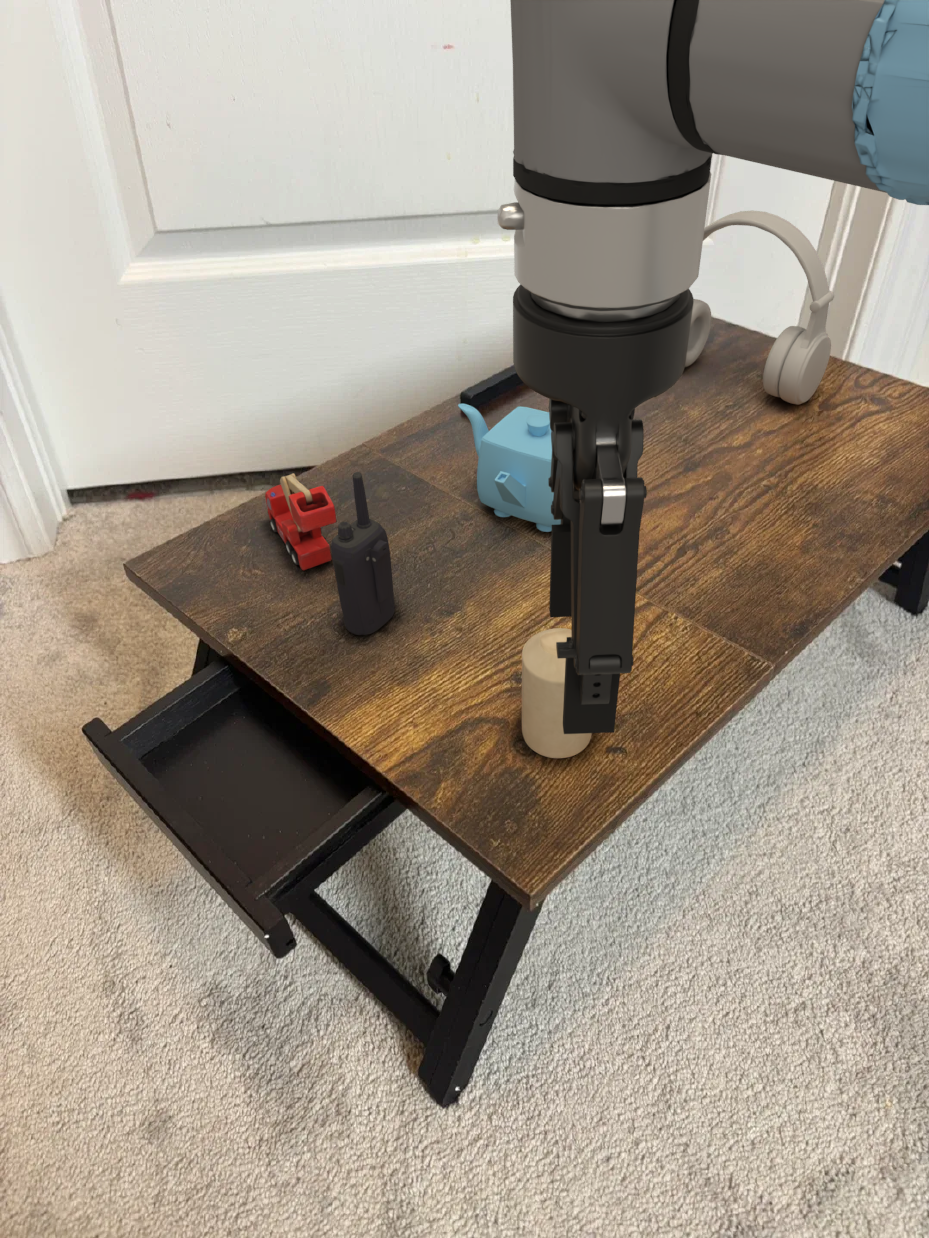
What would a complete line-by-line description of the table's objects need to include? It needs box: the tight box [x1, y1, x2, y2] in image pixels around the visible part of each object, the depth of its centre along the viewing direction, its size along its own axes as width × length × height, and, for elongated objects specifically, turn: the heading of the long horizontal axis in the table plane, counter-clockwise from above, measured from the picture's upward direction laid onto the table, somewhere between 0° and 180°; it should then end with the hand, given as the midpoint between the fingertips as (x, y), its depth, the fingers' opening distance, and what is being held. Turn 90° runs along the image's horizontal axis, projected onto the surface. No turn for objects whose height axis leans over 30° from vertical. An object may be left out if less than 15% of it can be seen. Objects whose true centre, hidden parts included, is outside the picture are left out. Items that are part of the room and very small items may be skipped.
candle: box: [521, 627, 593, 759], centre depth 70 cm, size 6×6×10 cm
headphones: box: [685, 210, 835, 406], centre depth 107 cm, size 20×8×19 cm, turn 50°
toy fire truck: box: [264, 473, 337, 571], centre depth 88 cm, size 3×14×10 cm, turn 28°
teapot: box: [457, 403, 561, 533], centre depth 92 cm, size 18×14×10 cm
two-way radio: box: [330, 471, 396, 636], centre depth 78 cm, size 6×4×15 cm
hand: (579, 666), depth 54 cm, fingers open, 9 cm apart
